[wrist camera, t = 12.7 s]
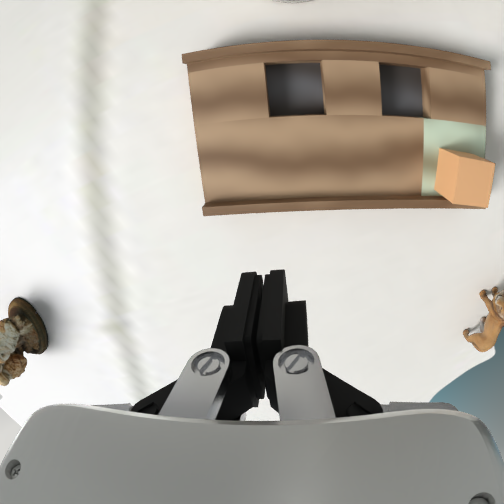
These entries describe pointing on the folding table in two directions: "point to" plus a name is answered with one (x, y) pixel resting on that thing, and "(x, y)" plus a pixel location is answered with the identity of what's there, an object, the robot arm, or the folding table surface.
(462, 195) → the block
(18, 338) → the brown lumpy sculpture
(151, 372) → the folding table surface
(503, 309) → the lion figurine
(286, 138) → the box
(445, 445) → the robot arm
